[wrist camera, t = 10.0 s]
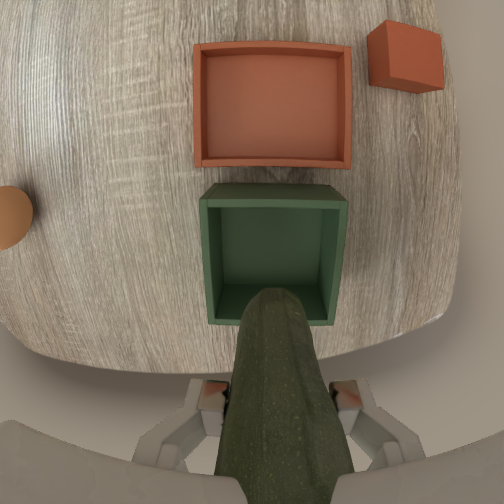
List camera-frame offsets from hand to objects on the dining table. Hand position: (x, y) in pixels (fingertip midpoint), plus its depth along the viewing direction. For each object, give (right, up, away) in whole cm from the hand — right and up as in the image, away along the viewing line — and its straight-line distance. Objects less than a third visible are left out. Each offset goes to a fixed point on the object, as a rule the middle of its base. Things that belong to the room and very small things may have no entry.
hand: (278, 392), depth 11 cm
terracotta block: (+12, +22, +10) cm, 27 cm away
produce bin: (+1, +7, +17) cm, 18 cm away
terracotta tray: (+1, +18, +12) cm, 22 cm away
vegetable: (+1, +3, +8) cm, 9 cm away
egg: (-27, +11, +17) cm, 34 cm away
